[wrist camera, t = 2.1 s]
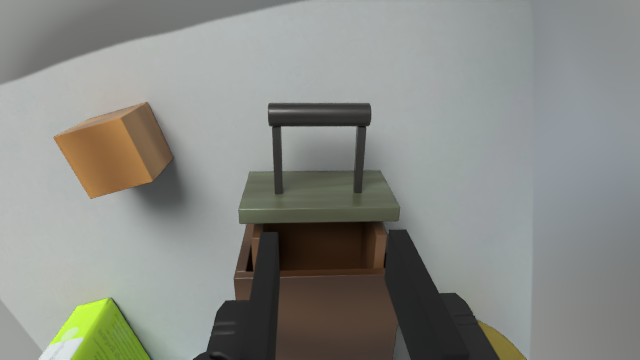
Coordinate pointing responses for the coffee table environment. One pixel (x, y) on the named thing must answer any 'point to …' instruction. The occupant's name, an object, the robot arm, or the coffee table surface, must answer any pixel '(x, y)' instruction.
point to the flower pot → (501, 344)
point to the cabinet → (327, 311)
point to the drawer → (320, 199)
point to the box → (95, 336)
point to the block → (116, 150)
